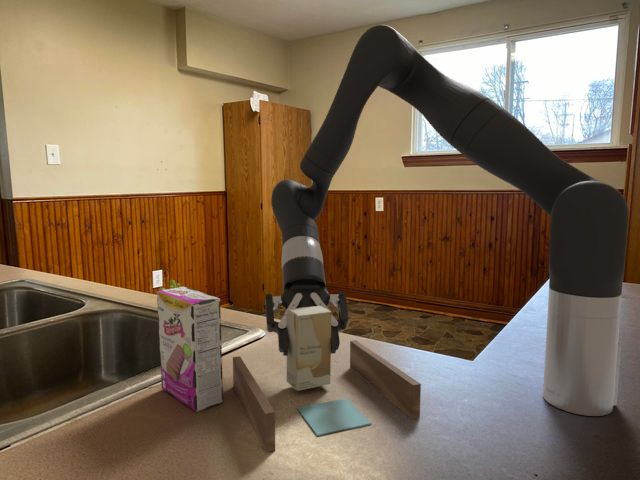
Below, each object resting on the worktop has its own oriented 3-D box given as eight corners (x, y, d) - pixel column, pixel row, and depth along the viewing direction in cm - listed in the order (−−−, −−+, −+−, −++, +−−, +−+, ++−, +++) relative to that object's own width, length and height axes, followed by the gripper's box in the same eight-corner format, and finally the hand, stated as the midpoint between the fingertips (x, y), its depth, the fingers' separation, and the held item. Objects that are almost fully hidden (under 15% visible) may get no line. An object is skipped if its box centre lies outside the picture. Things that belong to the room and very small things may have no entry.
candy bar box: (159, 390, 72) (155, 290, 70) (187, 381, 75) (184, 285, 73) (195, 414, 64) (191, 302, 62) (224, 403, 67) (222, 296, 66)
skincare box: (296, 392, 69) (295, 315, 68) (285, 382, 73) (284, 309, 72) (332, 384, 72) (332, 310, 71) (320, 374, 76) (320, 304, 75)
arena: (355, 366, 81) (356, 340, 81) (419, 417, 63) (420, 383, 63) (233, 386, 73) (232, 357, 73) (265, 452, 55) (265, 413, 54)
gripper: (262, 255, 77) (263, 344, 67) (344, 253, 79) (358, 339, 68) (263, 279, 83) (264, 364, 73) (339, 277, 85) (351, 360, 74)
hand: (309, 352), depth 71 cm, fingers closed on skincare box, 7 cm apart
